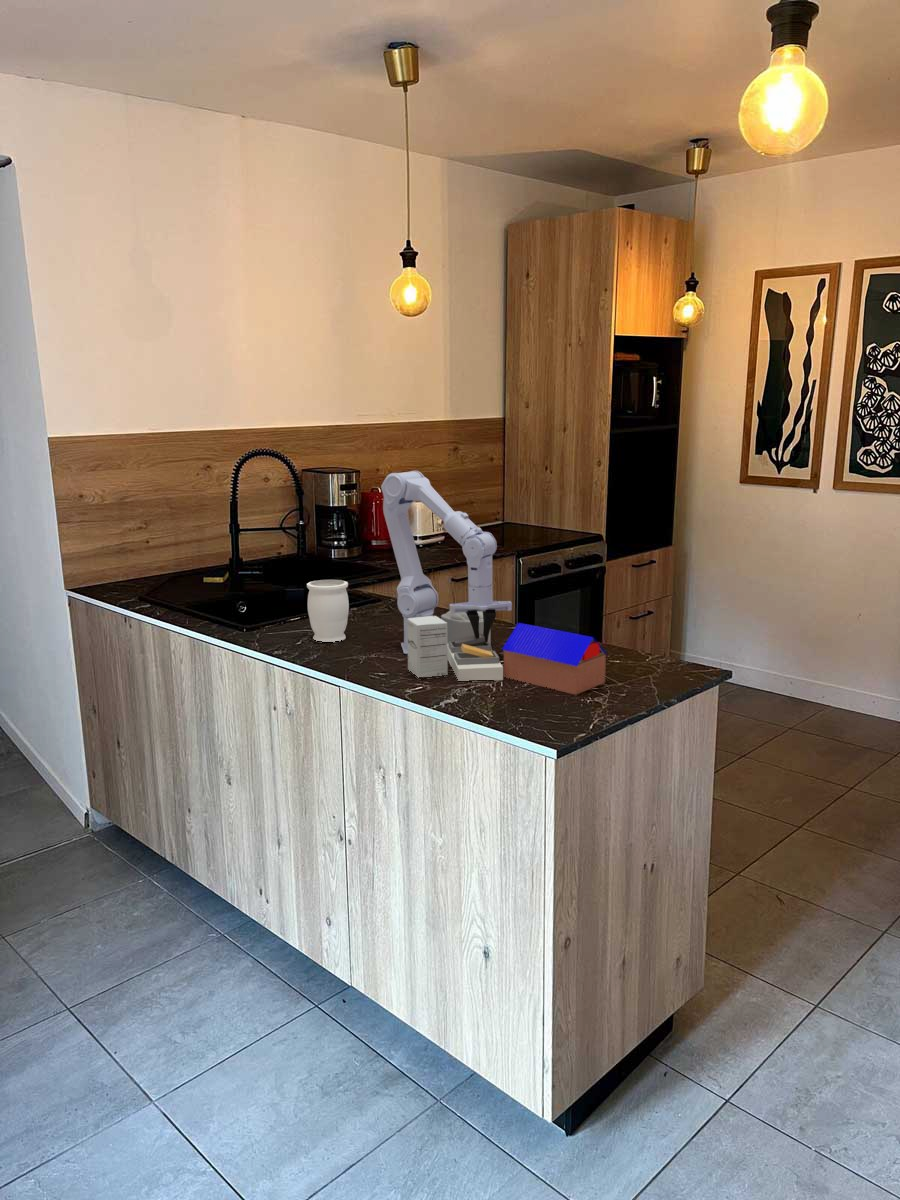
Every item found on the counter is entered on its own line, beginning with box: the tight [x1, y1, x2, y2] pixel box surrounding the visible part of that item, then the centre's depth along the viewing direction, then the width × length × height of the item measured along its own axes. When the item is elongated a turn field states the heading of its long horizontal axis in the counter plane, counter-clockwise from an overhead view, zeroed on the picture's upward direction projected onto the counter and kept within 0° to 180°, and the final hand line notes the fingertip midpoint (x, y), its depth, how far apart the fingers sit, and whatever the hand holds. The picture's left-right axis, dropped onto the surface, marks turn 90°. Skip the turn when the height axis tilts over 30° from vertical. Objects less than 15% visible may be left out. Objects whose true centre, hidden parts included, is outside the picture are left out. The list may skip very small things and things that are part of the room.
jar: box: [306, 579, 350, 643], centre depth 238 cm, size 11×10×15 cm
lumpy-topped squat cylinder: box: [440, 610, 492, 646], centre depth 234 cm, size 10×13×9 cm
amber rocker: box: [461, 644, 493, 658], centre depth 208 cm, size 4×7×1 cm, turn 98°
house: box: [501, 622, 608, 695], centre depth 203 cm, size 12×20×12 cm, turn 48°
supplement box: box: [407, 615, 449, 679], centre depth 208 cm, size 7×7×13 cm
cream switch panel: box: [447, 641, 504, 682], centre depth 213 cm, size 22×10×4 cm, turn 8°
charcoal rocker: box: [454, 634, 485, 647], centre depth 217 cm, size 4×7×1 cm, turn 98°
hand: (481, 641), depth 218 cm, fingers closed on charcoal rocker
